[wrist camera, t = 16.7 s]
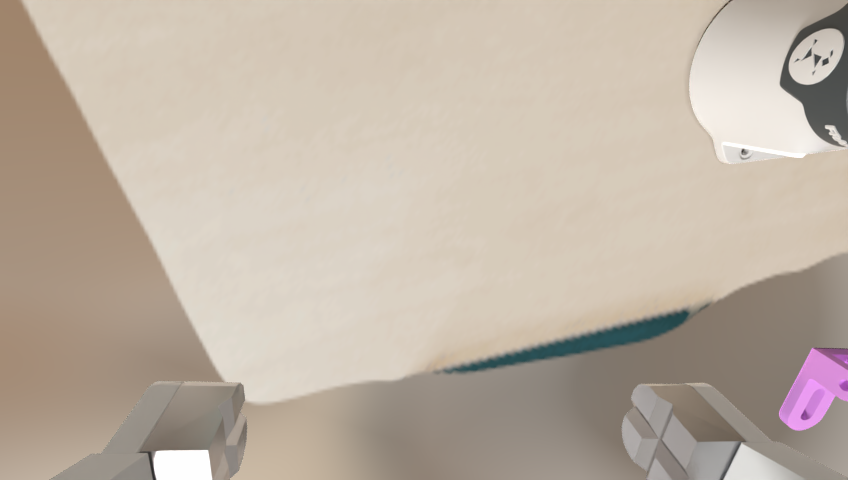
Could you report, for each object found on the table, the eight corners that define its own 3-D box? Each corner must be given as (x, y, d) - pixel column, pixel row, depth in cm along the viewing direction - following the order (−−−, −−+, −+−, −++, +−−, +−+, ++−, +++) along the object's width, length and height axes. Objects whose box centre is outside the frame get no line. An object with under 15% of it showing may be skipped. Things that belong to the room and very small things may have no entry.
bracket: (812, 347, 56) (868, 383, 50) (848, 348, 57) (908, 384, 51) (772, 422, 61) (819, 464, 55) (806, 422, 62) (856, 463, 55)
